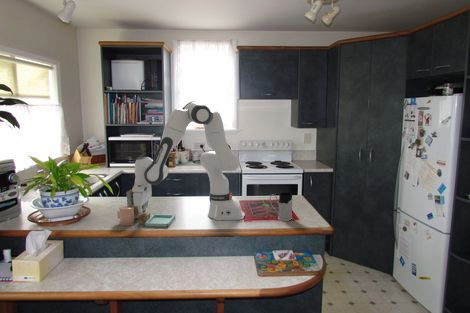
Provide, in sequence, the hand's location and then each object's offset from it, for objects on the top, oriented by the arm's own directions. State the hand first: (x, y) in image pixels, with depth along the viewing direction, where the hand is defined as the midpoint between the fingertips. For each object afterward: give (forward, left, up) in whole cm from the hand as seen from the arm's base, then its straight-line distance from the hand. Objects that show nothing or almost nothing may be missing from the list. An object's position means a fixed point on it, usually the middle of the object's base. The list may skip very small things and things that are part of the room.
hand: (143, 209), depth 185 cm
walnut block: (0, -1, -8) cm, 8 cm away
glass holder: (-78, -16, -8) cm, 80 cm away
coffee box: (+8, -10, -8) cm, 15 cm away
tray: (-9, -2, -8) cm, 12 cm away
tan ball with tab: (+9, +2, -8) cm, 12 cm away
